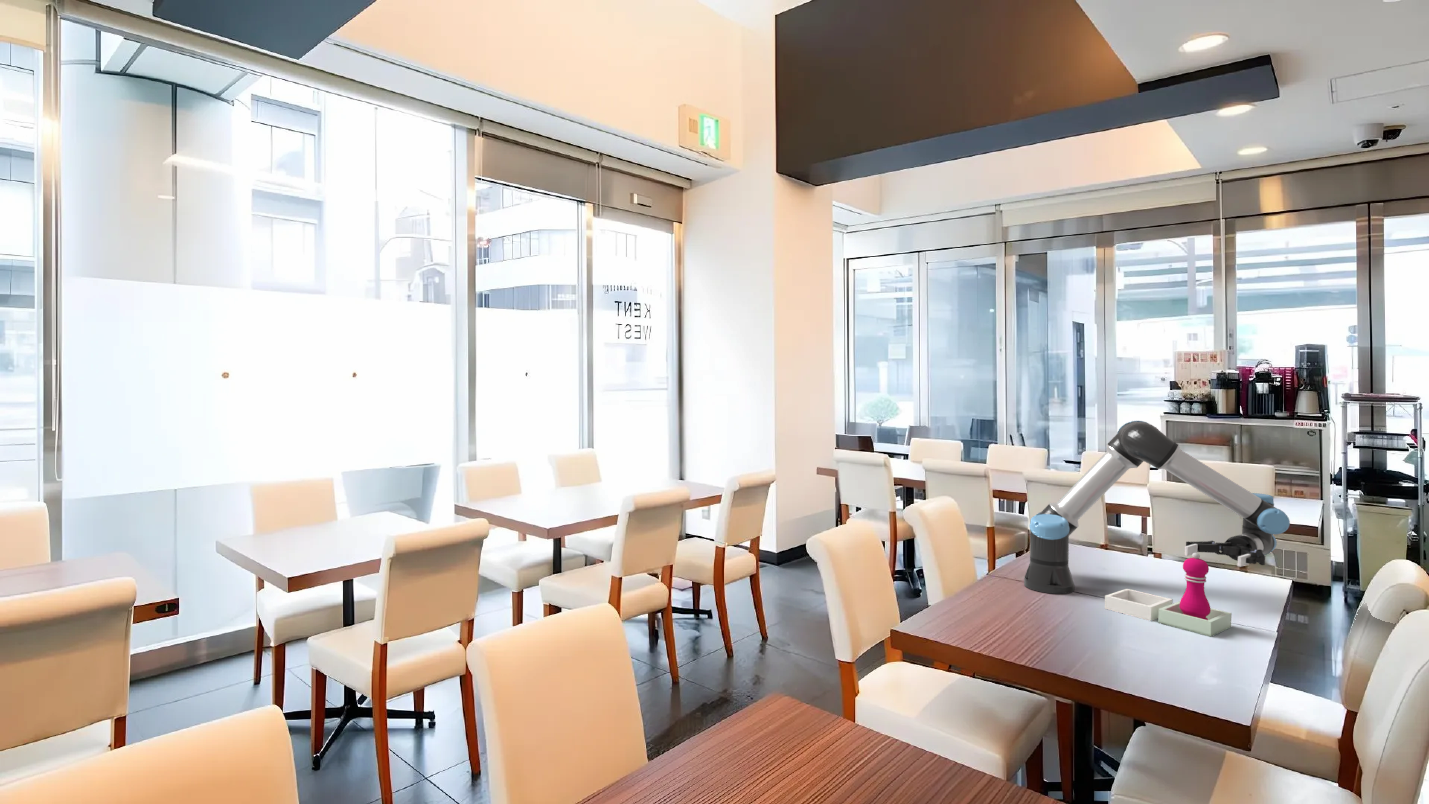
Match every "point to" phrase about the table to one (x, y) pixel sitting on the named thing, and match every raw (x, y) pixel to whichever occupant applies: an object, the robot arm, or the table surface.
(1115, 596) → the bin
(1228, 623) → the tray
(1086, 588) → the table surface
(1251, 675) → the table surface
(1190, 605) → the pepper mill
